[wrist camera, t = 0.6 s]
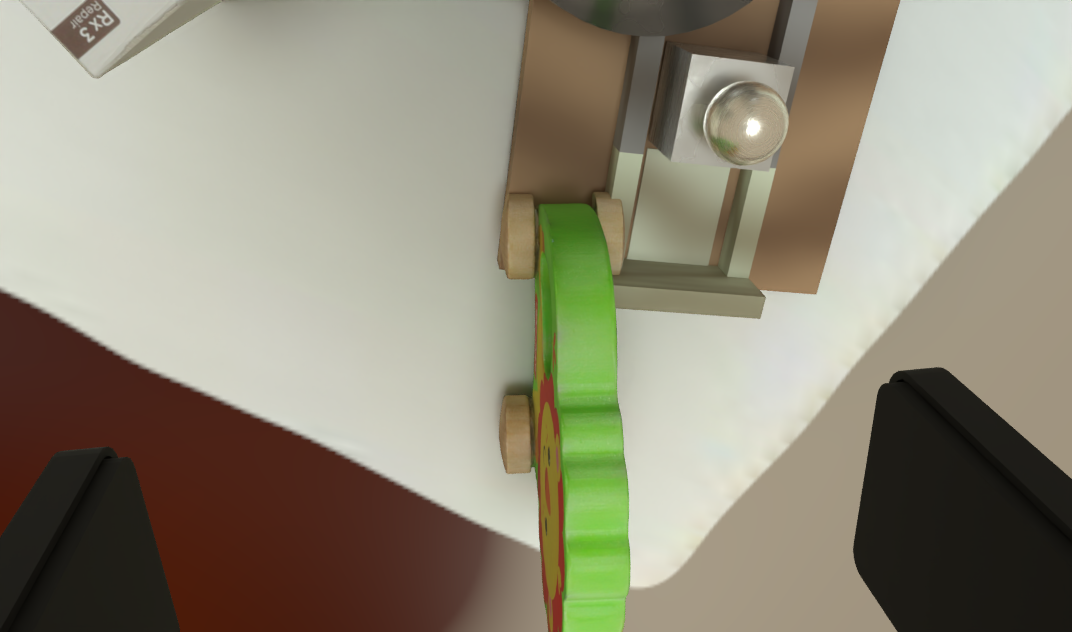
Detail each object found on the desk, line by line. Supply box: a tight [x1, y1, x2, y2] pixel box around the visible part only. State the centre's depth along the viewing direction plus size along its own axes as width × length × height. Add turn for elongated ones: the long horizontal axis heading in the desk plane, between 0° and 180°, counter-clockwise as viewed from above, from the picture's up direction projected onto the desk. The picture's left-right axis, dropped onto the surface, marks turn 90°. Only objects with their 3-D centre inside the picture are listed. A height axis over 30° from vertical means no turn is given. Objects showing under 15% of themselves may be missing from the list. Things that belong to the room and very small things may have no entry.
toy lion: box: [499, 192, 630, 632], centre depth 35 cm, size 16×5×15 cm, turn 179°
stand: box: [497, 0, 900, 319], centre depth 34 cm, size 23×15×5 cm, turn 172°
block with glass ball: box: [649, 41, 795, 172], centre depth 33 cm, size 4×4×6 cm
